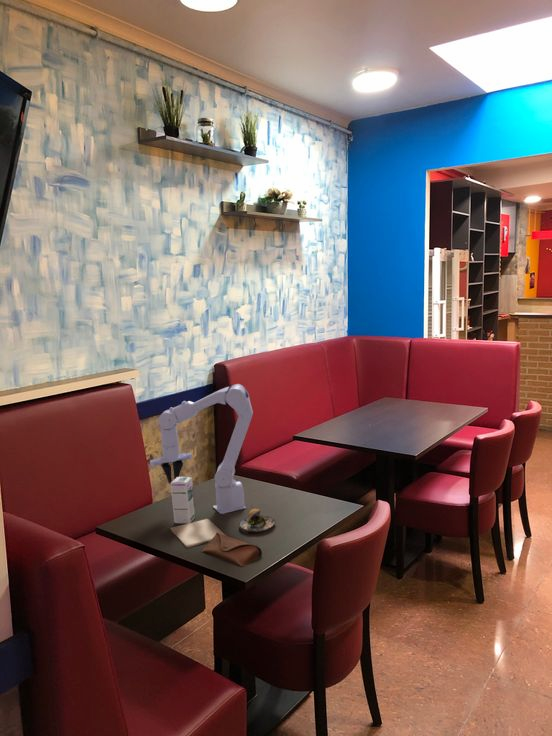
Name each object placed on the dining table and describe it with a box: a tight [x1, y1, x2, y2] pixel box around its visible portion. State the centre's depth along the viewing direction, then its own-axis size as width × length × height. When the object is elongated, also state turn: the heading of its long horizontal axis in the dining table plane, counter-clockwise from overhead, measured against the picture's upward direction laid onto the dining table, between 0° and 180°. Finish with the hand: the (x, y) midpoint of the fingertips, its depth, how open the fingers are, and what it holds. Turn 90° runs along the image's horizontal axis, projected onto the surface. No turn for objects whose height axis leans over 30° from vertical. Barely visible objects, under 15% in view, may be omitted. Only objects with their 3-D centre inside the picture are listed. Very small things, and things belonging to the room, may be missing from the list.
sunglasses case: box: [200, 533, 263, 568], centre depth 172 cm, size 18×7×7 cm, turn 52°
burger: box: [238, 505, 276, 535], centre depth 189 cm, size 12×12×8 cm
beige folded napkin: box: [170, 518, 227, 549], centre depth 186 cm, size 13×16×1 cm
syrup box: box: [170, 475, 197, 525], centre depth 196 cm, size 6×6×14 cm
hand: (173, 482), depth 205 cm, fingers closed
